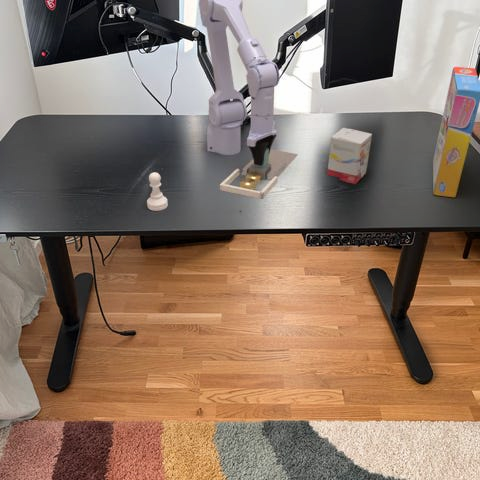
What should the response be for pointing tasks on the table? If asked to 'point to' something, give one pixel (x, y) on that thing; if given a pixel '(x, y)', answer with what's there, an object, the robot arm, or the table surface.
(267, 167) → the teal and gray box
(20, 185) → the table surface
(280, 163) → the slotted rail
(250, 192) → the tray
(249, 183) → the gold round piece
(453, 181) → the game box
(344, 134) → the ink box
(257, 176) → the gold knob
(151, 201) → the chess pawn
